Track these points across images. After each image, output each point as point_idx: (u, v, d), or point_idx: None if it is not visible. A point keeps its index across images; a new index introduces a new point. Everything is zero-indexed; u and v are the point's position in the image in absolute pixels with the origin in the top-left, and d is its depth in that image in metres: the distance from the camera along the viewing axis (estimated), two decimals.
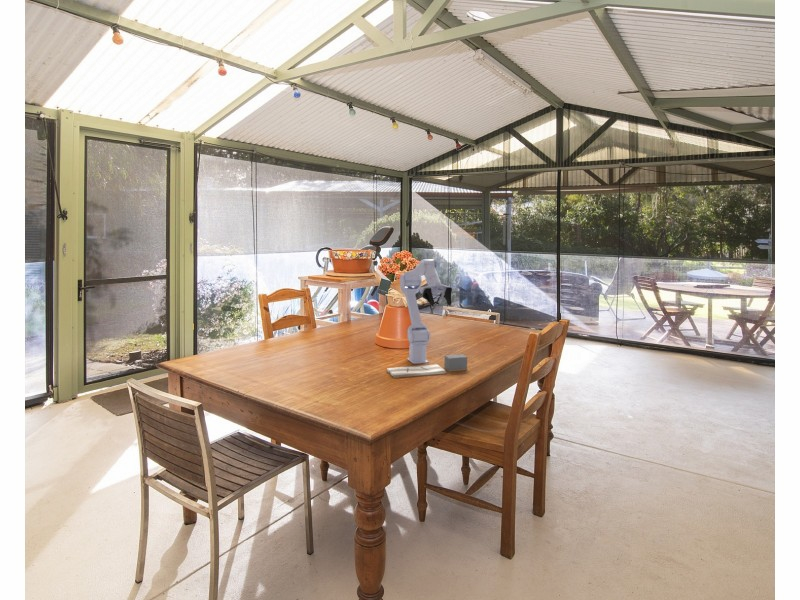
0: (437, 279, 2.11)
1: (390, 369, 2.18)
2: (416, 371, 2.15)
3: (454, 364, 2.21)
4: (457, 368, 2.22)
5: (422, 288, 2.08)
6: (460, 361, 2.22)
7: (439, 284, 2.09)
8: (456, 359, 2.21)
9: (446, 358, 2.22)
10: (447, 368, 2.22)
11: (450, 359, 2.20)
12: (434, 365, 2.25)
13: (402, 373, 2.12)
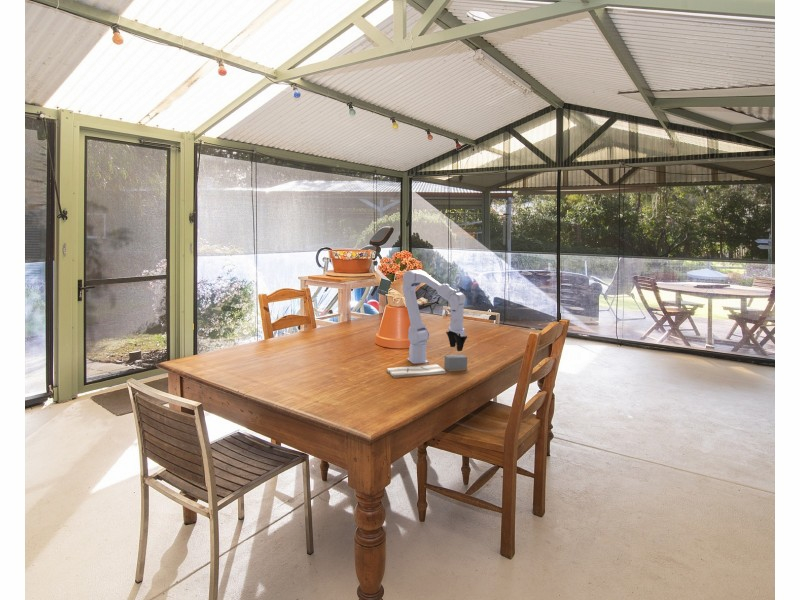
0: None
1: (390, 369, 2.18)
2: (416, 371, 2.15)
3: (454, 363, 2.21)
4: (457, 368, 2.22)
5: None
6: (460, 361, 2.22)
7: None
8: (456, 359, 2.21)
9: (446, 358, 2.22)
10: (447, 368, 2.22)
11: (450, 359, 2.20)
12: (434, 365, 2.25)
13: (402, 373, 2.12)
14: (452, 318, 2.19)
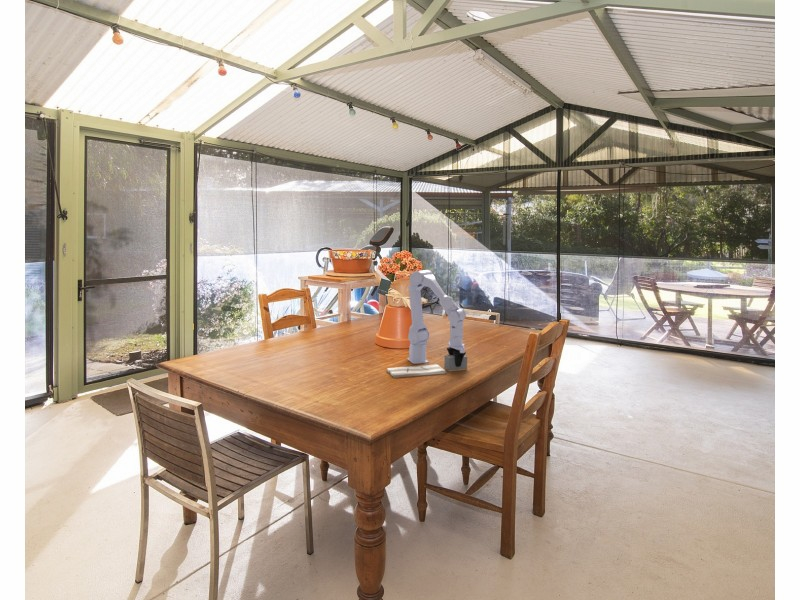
0: None
1: (390, 369, 2.18)
2: (416, 371, 2.15)
3: (454, 363, 2.21)
4: (457, 368, 2.22)
5: None
6: None
7: None
8: None
9: (446, 358, 2.22)
10: (447, 368, 2.22)
11: (450, 359, 2.20)
12: (434, 365, 2.25)
13: (402, 373, 2.12)
14: (452, 334, 2.20)
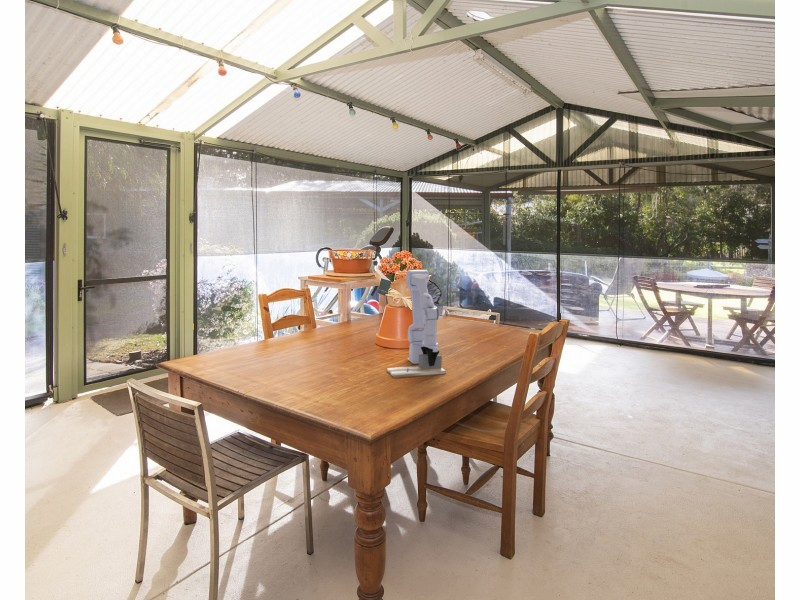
0: None
1: (390, 369, 2.18)
2: (416, 371, 2.15)
3: (428, 362, 2.17)
4: (431, 367, 2.18)
5: None
6: None
7: None
8: None
9: (420, 357, 2.19)
10: (421, 367, 2.18)
11: (424, 358, 2.16)
12: None
13: (402, 373, 2.12)
14: (423, 332, 2.18)
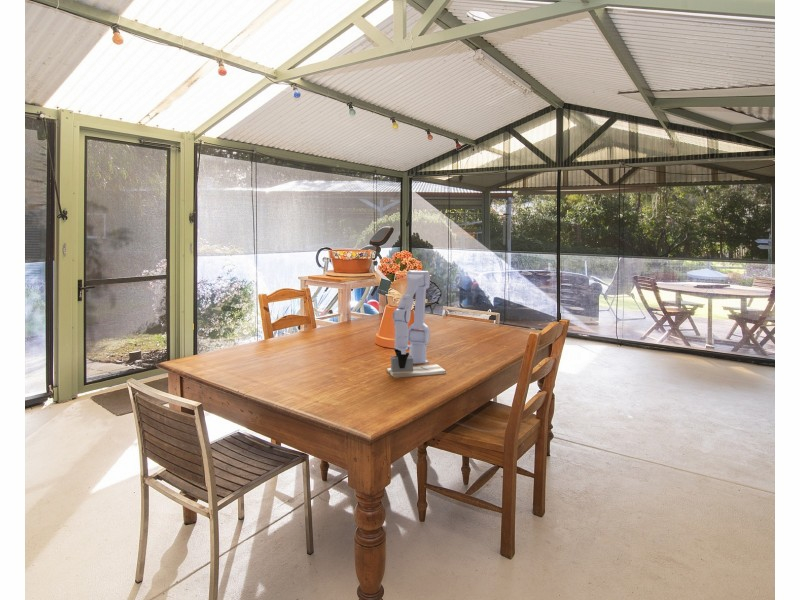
0: None
1: (390, 369, 2.18)
2: (416, 371, 2.15)
3: (398, 365, 2.13)
4: (402, 369, 2.14)
5: (405, 351, 2.09)
6: None
7: None
8: None
9: (391, 359, 2.15)
10: (392, 369, 2.15)
11: (394, 360, 2.13)
12: (434, 365, 2.25)
13: (402, 373, 2.12)
14: None
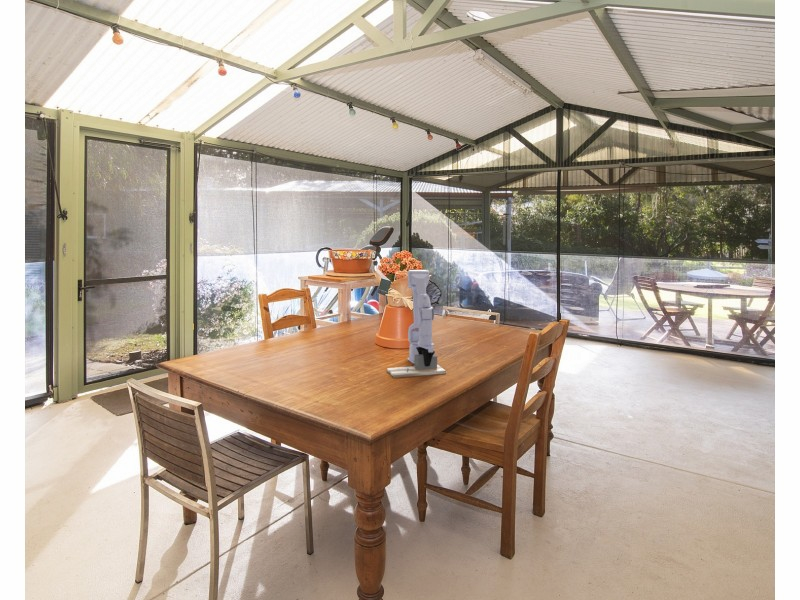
0: None
1: (390, 369, 2.18)
2: (416, 371, 2.15)
3: None
4: (427, 367, 2.17)
5: None
6: None
7: None
8: None
9: (416, 357, 2.18)
10: (417, 367, 2.17)
11: (419, 358, 2.16)
12: None
13: (402, 373, 2.12)
14: (419, 332, 2.18)
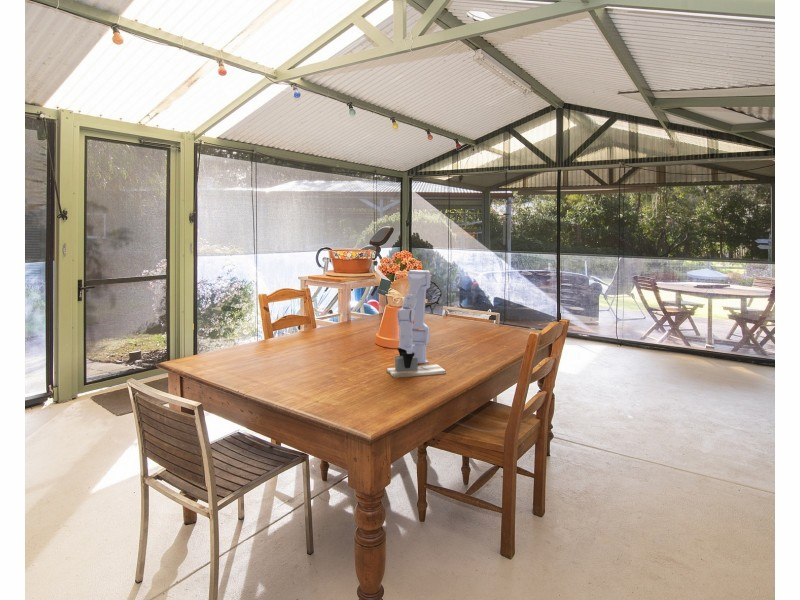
0: None
1: (390, 369, 2.18)
2: (416, 371, 2.15)
3: (403, 364, 2.14)
4: (407, 369, 2.14)
5: None
6: None
7: None
8: None
9: (396, 359, 2.16)
10: (396, 369, 2.15)
11: (399, 360, 2.13)
12: (434, 365, 2.25)
13: (402, 373, 2.12)
14: None
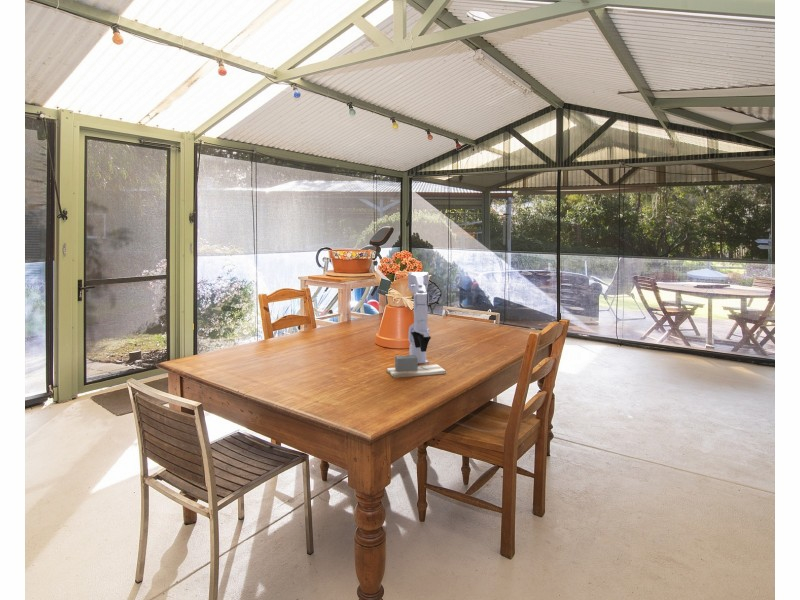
0: None
1: (390, 369, 2.18)
2: (416, 371, 2.15)
3: (403, 364, 2.14)
4: (407, 369, 2.14)
5: None
6: (409, 362, 2.14)
7: None
8: (405, 360, 2.14)
9: (396, 359, 2.16)
10: (396, 369, 2.15)
11: (399, 360, 2.13)
12: (434, 365, 2.25)
13: (402, 373, 2.12)
14: None
